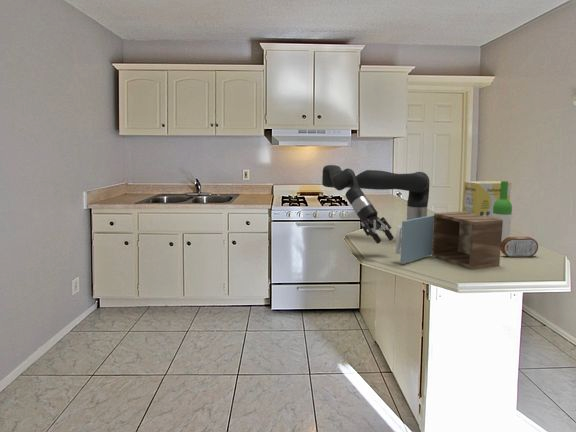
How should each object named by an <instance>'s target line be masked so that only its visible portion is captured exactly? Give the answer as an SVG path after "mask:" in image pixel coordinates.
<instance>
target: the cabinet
mask: <svg viewBox="0 0 576 432" xmlns="http://www.w3.org/2000/svg"><path fill="white" fill-rule="evenodd" d="M433 216H434V226H433V244H432V255H431V257H434V256H435V258H437V257H438V258H437V259H440V260H442V259H443V261H446V262H448V263H451V264H455V265H457V266H460V267H462V268H463V267H464V268H466V269H469V270H477V269H483V268H484V269H485V268H491V267H492V268H493V267H499V266H500V263H501V261H500V260H501V239H502V226H503V220H502V219H497V218H491V217H486V216H481V215H476V214H471V213H466V212H462V211H450V212H435V213H433Z"/></svg>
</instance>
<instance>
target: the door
mask: <svg viewBox="0 0 576 432" xmlns="http://www.w3.org/2000/svg"><path fill="white" fill-rule="evenodd" d="M433 227H434V214H433V215H427V216H426V217H421V218H416V219H411V220H407V219H405V220H403V221H401V225H396V236H395V238H396V239H395V254H396V255H397V254H398V255H400V261H399V262H400V264H406V263H409V262H410V263H411V262H412V261H415V260H419V259H423V258H425V257H429V256H432V245H433Z"/></svg>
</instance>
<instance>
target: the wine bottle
mask: <svg viewBox="0 0 576 432" xmlns="http://www.w3.org/2000/svg"><path fill="white" fill-rule="evenodd" d="M500 182H501V189H500V198H499V200H497V201H496V202H495V203H494V206H493V217H492V218H497V219H502V220H503V226H502V239H501V243H502V241H503V240H504V239H505V238H507V237H511V228H512V227H511V224H512V214H513V213H512V212H513V206H512V203H511V200H510V201H509V200H508V199H507V192H508V183H509V180H501V181H500Z"/></svg>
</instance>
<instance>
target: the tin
mask: <svg viewBox="0 0 576 432" xmlns="http://www.w3.org/2000/svg"><path fill="white" fill-rule="evenodd" d="M538 250H539V243H538V242H537V240H536V239H534V238H533V237H531V236H510V237H507V238H505V239H504V240H503V241H502V243H501V251H500V253H502V254H503V255H504V256H507V257H508V258H531V257H533V256H535V255H536V253H537V252H538Z"/></svg>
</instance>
